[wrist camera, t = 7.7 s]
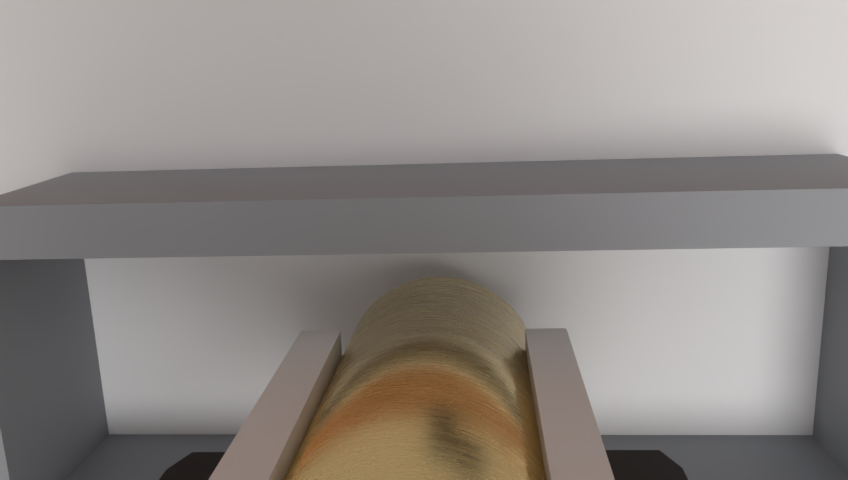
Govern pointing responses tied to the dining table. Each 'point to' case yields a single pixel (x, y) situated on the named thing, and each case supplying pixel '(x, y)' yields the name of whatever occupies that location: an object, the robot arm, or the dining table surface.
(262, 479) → the robot arm
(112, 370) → the white grey flat tray
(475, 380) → the pin
